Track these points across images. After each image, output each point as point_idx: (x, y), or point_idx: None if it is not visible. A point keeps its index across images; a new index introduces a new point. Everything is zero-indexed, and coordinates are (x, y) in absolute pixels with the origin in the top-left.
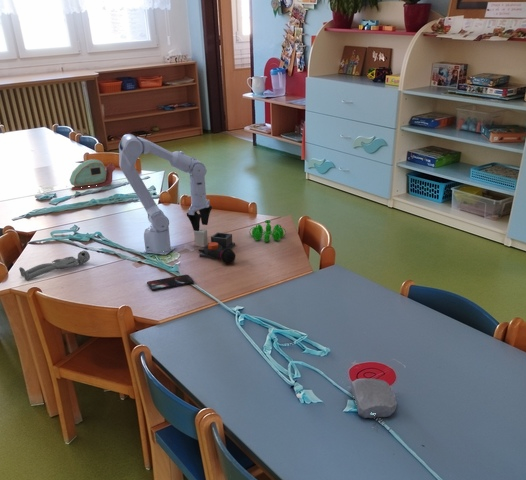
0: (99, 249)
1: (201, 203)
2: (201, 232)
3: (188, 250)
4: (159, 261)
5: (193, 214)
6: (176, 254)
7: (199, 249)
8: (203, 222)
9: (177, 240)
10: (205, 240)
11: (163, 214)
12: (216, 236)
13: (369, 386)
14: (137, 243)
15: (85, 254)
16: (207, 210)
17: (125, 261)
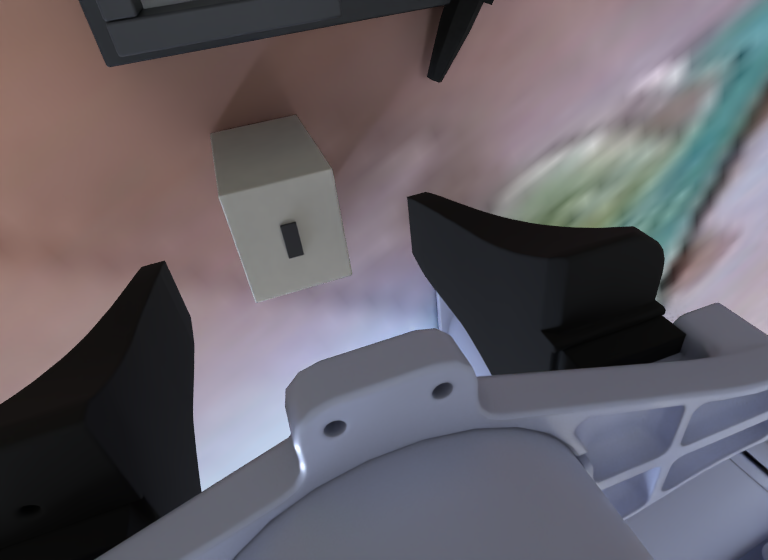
0: None
1: (598, 517)
2: (336, 191)
3: (427, 181)
4: (650, 204)
5: (719, 309)
6: (525, 199)
7: (444, 68)
8: (184, 319)
9: (292, 376)
10: (268, 140)
11: (738, 514)
12: (206, 2)
13: None
14: None
15: None
16: (129, 414)
17: None
